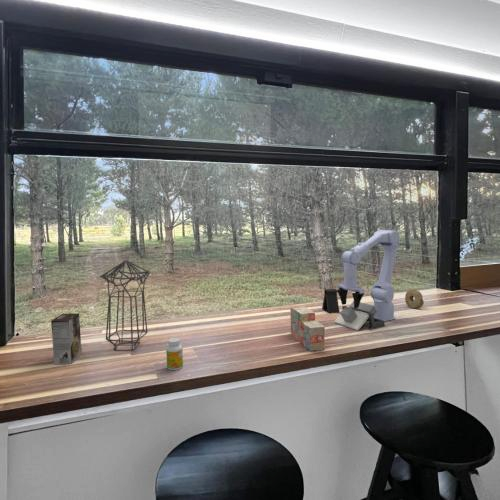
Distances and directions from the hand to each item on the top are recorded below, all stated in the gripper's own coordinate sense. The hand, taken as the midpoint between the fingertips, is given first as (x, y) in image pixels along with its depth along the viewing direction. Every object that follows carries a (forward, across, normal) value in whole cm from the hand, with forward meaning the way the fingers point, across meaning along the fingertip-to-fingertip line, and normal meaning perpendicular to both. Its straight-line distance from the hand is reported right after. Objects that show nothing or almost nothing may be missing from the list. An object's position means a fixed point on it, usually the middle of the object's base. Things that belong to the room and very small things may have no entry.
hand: (350, 306), depth 159 cm
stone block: (+6, 0, +1) cm, 6 cm away
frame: (+9, 0, +9) cm, 13 cm away
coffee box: (+10, -29, -115) cm, 119 cm away
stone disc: (+10, -3, +53) cm, 54 cm away
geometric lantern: (+10, -30, -93) cm, 98 cm away
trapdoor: (+7, 0, +5) cm, 9 cm away
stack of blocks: (+10, +4, -30) cm, 32 cm away
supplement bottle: (+10, -1, -84) cm, 84 cm away
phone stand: (+10, -24, +11) cm, 28 cm away
